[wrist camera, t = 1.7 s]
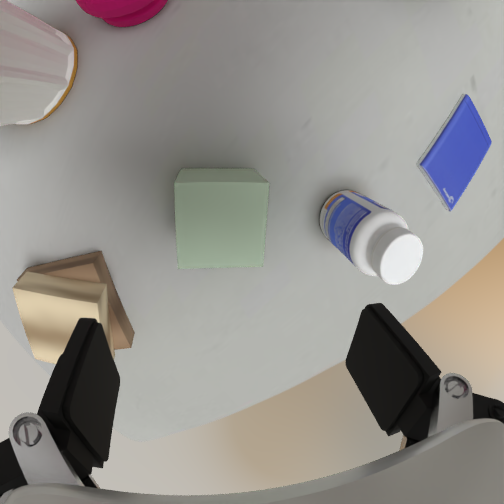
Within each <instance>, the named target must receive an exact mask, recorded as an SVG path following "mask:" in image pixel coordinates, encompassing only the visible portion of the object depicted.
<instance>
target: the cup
mask: <svg viewBox="0 0 504 504" xmlns="http://www.w3.org/2000/svg"><path fill="white" fill-rule="evenodd" d="M76 70H77V49H76V47H75V45H74V43H73V41H72V40H71V38H70V37H69V36H67V35H66V34H64V33H62V32H61V31H59V30H57V29H55V28H53V27H51V26H50V25H48V24H47V23H45V22H43V21H42V20H40V19H38V18H36V17H35V16H33V15H31V14H30V13H28V12H26V11H24V10H22V9H21V8H19V7H17V6H15V5H13V4H12V3H10V2H8V1H6V0H0V126H5V125H10V124H32V123H35V122H38V121H40V120H43V119H45V118H47V117H48V116H49V115H50V114H51V113H52V112H53V111H54V110H55V109H56V108H57V107H58V106H59V105H60V104H61V103H62V101H63V100H64V98H65V97H66V95H67V94H68V92H69V90H70V89H71V87H72V84H73V81H74V78H75V74H76Z"/></svg>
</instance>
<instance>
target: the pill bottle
mask: <svg viewBox="0 0 504 504" xmlns="http://www.w3.org/2000/svg"><path fill="white" fill-rule="evenodd" d="M320 227H321V230H322V232H323V234H324V235H325V237H326V238H327V239H328V240H329V241H330V242H331V243H332V244H333V245H334V246H336V247H337V248H338V249H339V250H340V251H341V252H342V253H343V254H344V255H345V256H346V257H347V258H348V259H349V260H350V261H351V262H352V263H353V264H354V265H355V266H356V267H357V268H358V269H359V270H360V271H361V272H362V273H364V274H367V275H370V276H379V277H380V278H381V279H382V280H384V281H385V282H386V283H388V284H391V285H397V284H401V283H403V282H405V281H406V280H408V279H409V278H410V277H411V276H412V275H413V274H414V273H415V272H416V270H417V269H418V267H419V265H420V263H421V260H422V256H423V246H422V242H421V240H420V239H419V237H417V236H416V235H415V234H413V233H412V232H411V231H410V230H409V229H408V226H407V223H406V222H405V220H404V219H403V218H402V217H401V216H400V215H399V214H397V213H395V212H394V211H392V210H390V209H388V208H386V207H385V206H383V205H381V204H379V203H377V202H375V201H373V200H371V199H369V198H367V197H365V196H363V195H362V194H360V193H357V192H355V191H350V190H345V191H340V192H337V193H335V194H333V195H332V196H331V197H330V198H329V199H328V200H327V201H326V202H325V204H324V206H323V208H322V210H321V214H320Z"/></svg>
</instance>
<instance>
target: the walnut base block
mask: <svg viewBox="0 0 504 504" xmlns="http://www.w3.org/2000/svg"><path fill="white" fill-rule="evenodd" d="M26 272H33V273H39V274H44V275H50V276H56V277H63V278H69V279H75V280H82V281H89V282H96V283H103V284H107V295H108V306H109V315H110V324H111V331H112V339H113V345H114V350H115V349H125V348H131V346H132V341H133V337H134V333H135V332H134V330H133V328H132V326H131V324H130V322H129V319H128V317H127V315H126V313H125V310H124V308H123V306H122V303H121V301H120V299H119V296H118V294H117V291H116V289H115V286H114V284H113V281H112V279H111V276H110V274H109V271H108V268H107V265H106V263H105V260H104V257H103V254H102V251H98V252H94V253H89V254H85V255H80V256H76V257H72V258H67V259H63V260H59V261H54V262H50V263H46V264H42V265H38V266H33V267H29V268H27V269H26V270H25V271H24V272H23V273H22V274H21V276H20V277H19V278H18V279H17V281H19V280H20V279H21V277H22V276H23V275H24V274H25V273H26Z"/></svg>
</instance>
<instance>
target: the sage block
mask: <svg viewBox="0 0 504 504" xmlns="http://www.w3.org/2000/svg"><path fill="white" fill-rule="evenodd" d="M268 195H269V182H268V181H267V180H266V179H264V178H263V177H262V176H261V175H260V174H259V173H258V172H257V171H256V170H255V169H242V168H187V169H181V170H180V172H179V174H178V176H177V178H176V180H175V182H174V200H175V227H176V246H177V262H178V269H191V268H231V267H263V261H264V248H265V235H266V222H267V209H268Z"/></svg>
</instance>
